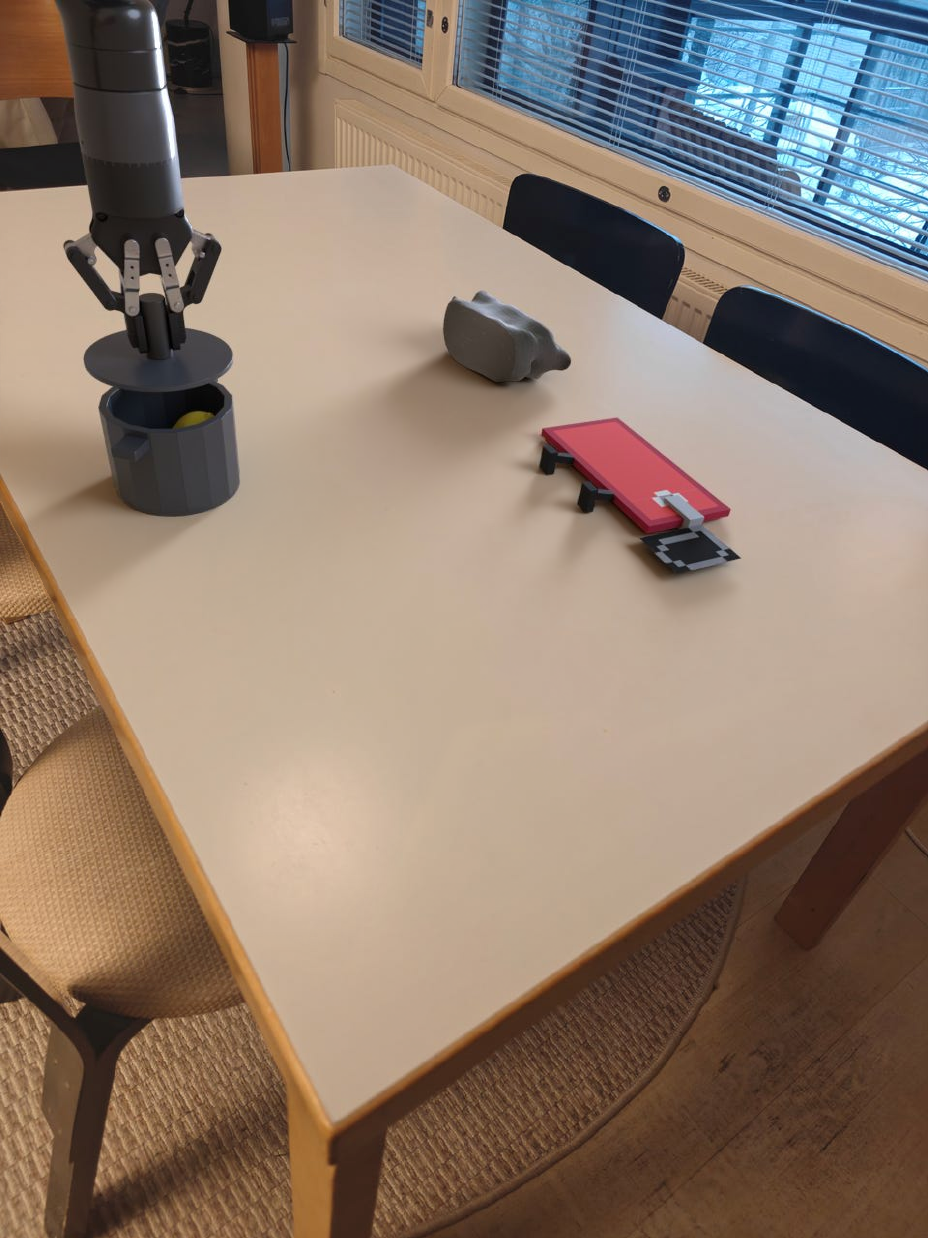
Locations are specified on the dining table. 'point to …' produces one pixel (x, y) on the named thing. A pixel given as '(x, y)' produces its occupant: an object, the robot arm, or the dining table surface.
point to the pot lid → (158, 355)
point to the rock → (500, 340)
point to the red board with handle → (641, 490)
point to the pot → (171, 449)
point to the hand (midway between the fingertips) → (158, 347)
